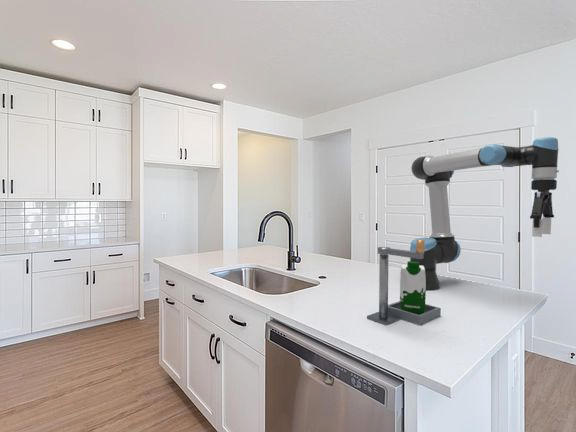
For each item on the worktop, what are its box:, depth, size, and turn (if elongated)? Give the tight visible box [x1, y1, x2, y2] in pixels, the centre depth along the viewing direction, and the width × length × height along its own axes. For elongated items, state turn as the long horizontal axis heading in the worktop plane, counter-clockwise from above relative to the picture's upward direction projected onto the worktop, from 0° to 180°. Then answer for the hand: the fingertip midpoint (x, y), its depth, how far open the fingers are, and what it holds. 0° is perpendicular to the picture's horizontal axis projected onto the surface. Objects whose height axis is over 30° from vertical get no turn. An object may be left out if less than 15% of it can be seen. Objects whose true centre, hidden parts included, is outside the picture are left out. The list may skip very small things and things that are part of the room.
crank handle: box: [377, 240, 425, 259], centre depth 108 cm, size 17×4×6 cm, turn 38°
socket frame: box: [388, 300, 442, 326], centre depth 118 cm, size 14×14×3 cm
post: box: [366, 254, 401, 326], centre depth 113 cm, size 8×8×23 cm
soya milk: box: [399, 261, 427, 315], centre depth 118 cm, size 9×9×20 cm
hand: (541, 235), depth 123 cm, fingers open, 13 cm apart
